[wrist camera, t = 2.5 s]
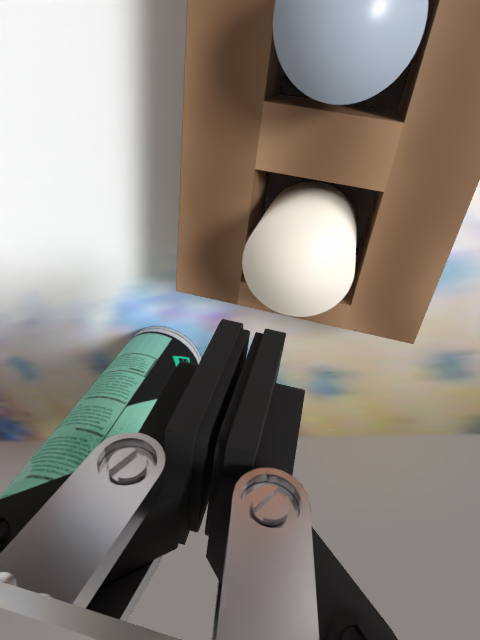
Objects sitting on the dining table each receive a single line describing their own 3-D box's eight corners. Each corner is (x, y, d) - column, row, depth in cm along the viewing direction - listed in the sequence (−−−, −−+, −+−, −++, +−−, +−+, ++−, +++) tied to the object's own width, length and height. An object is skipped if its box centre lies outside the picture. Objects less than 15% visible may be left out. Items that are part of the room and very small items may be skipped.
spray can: (141, 389, 32) (-94, 737, 16) (119, 326, 30) (-189, 663, 13) (209, 391, 31) (29, 779, 14) (193, 324, 28) (-50, 704, 12)
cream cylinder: (368, 190, 20) (368, 224, 16) (344, 277, 22) (339, 327, 18) (272, 173, 20) (249, 202, 16) (259, 260, 23) (236, 304, 19)
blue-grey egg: (429, -37, 15) (452, -71, 11) (392, 102, 18) (400, 115, 14) (305, -50, 16) (285, -86, 12) (285, 86, 18) (262, 94, 14)
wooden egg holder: (700, -488, 11) (839, -715, 8) (406, 304, 24) (413, 343, 21) (252, -471, 13) (213, -652, 10) (200, 260, 26) (175, 290, 23)
